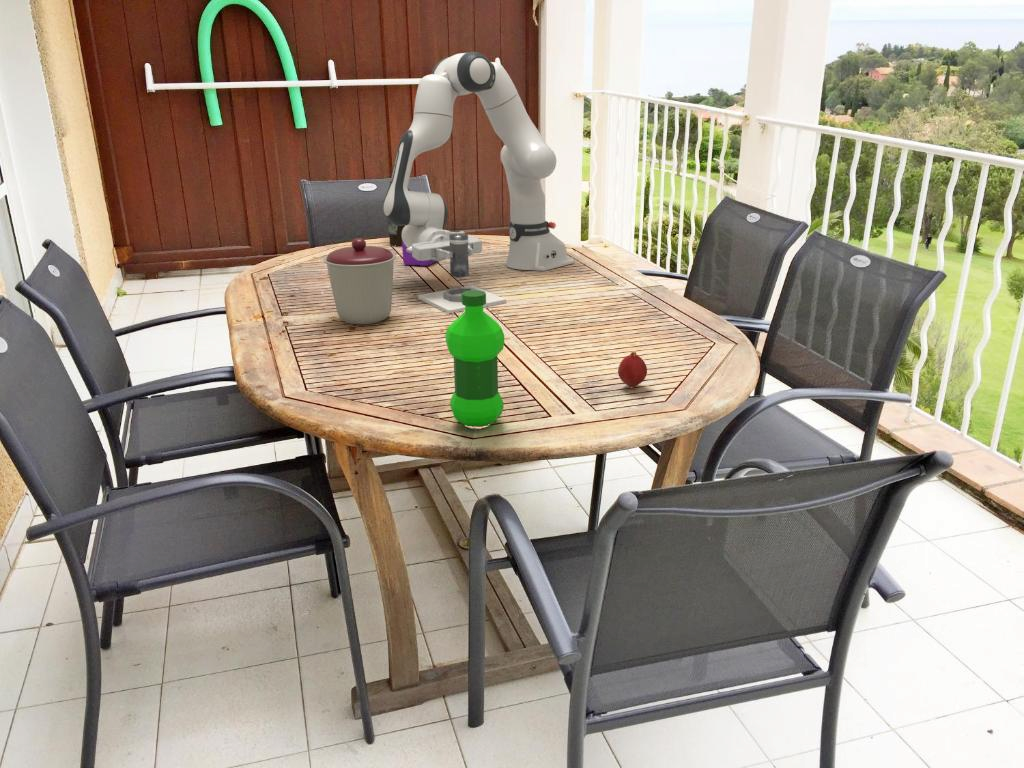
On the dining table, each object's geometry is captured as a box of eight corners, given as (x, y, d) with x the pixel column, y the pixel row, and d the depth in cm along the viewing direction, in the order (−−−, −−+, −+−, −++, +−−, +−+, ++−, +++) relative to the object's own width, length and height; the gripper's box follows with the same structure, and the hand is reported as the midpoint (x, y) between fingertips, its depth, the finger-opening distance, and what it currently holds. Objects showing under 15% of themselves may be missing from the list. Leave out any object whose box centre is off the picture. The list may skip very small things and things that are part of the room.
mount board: (473, 288, 237) (472, 280, 236) (506, 302, 223) (506, 294, 222) (418, 298, 228) (417, 289, 227) (449, 314, 214) (448, 305, 213)
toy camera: (442, 257, 274) (440, 228, 270) (434, 267, 261) (433, 236, 257) (410, 257, 275) (408, 227, 271) (401, 267, 262) (399, 236, 258)
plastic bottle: (453, 411, 155) (448, 285, 146) (508, 413, 154) (506, 286, 145) (444, 434, 146) (438, 300, 137) (502, 436, 145) (500, 301, 136)
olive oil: (408, 239, 301) (404, 170, 291) (423, 244, 293) (419, 173, 283) (383, 243, 295) (378, 173, 286) (396, 248, 287) (392, 176, 278)
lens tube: (463, 271, 226) (462, 232, 222) (472, 275, 222) (471, 235, 218) (446, 274, 223) (445, 234, 219) (456, 278, 219) (455, 237, 215)
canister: (357, 305, 222) (350, 229, 214) (413, 313, 214) (408, 234, 207) (315, 324, 207) (306, 242, 199) (373, 333, 199) (366, 249, 192)
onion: (614, 383, 168) (616, 346, 165) (642, 381, 168) (644, 345, 165) (620, 393, 163) (622, 356, 160) (648, 392, 163) (651, 355, 160)
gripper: (402, 237, 224) (426, 246, 213) (466, 229, 234) (492, 238, 223) (404, 260, 226) (427, 270, 215) (467, 251, 236) (492, 260, 226)
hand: (460, 253), depth 219 cm, fingers closed on lens tube, 5 cm apart
